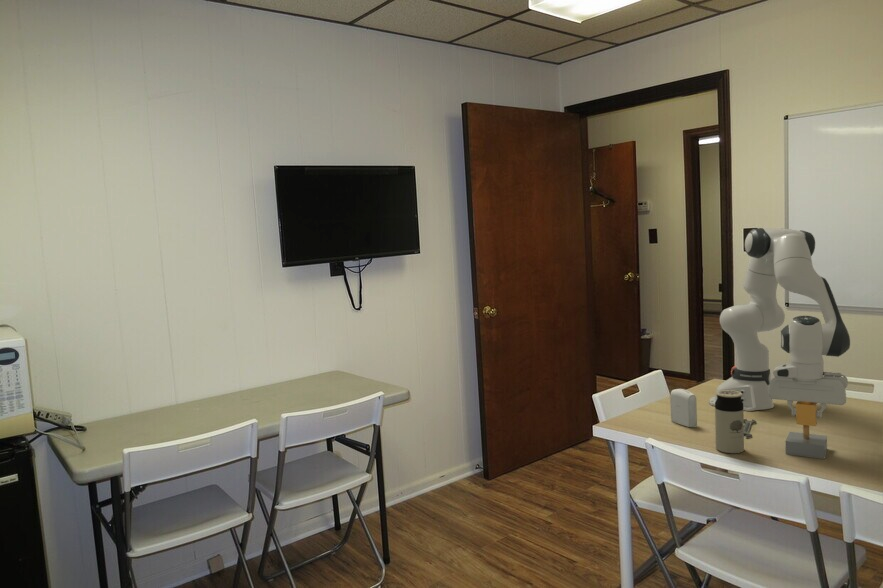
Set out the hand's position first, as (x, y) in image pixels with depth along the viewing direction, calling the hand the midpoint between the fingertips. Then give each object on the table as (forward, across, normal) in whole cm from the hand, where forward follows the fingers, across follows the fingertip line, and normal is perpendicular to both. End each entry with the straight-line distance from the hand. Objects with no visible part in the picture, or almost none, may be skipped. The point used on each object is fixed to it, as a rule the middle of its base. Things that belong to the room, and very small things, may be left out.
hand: (806, 416), depth 192 cm
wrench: (+11, +19, -15) cm, 27 cm away
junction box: (+11, 0, 0) cm, 11 cm away
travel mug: (+11, +20, +8) cm, 24 cm away
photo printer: (+11, +39, -13) cm, 43 cm away
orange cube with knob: (+2, 0, 0) cm, 2 cm away
